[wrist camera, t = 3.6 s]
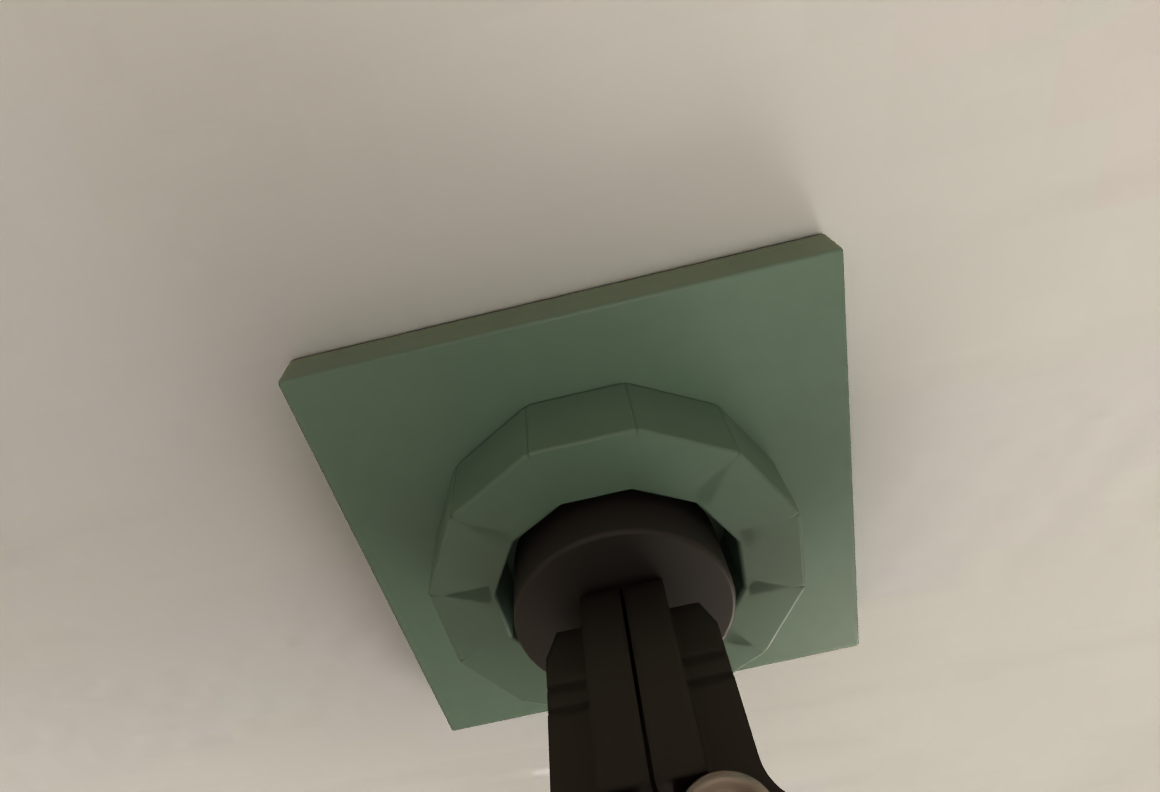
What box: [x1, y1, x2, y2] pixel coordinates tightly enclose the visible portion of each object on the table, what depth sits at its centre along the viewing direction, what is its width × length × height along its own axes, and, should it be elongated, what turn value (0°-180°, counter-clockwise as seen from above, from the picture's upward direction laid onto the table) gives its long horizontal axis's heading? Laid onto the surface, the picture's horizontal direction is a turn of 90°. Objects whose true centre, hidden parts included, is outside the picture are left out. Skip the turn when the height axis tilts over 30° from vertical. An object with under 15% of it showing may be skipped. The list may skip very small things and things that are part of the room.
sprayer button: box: [514, 489, 736, 672], centre depth 13 cm, size 4×4×2 cm
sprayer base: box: [279, 234, 859, 730], centre depth 14 cm, size 10×10×2 cm
